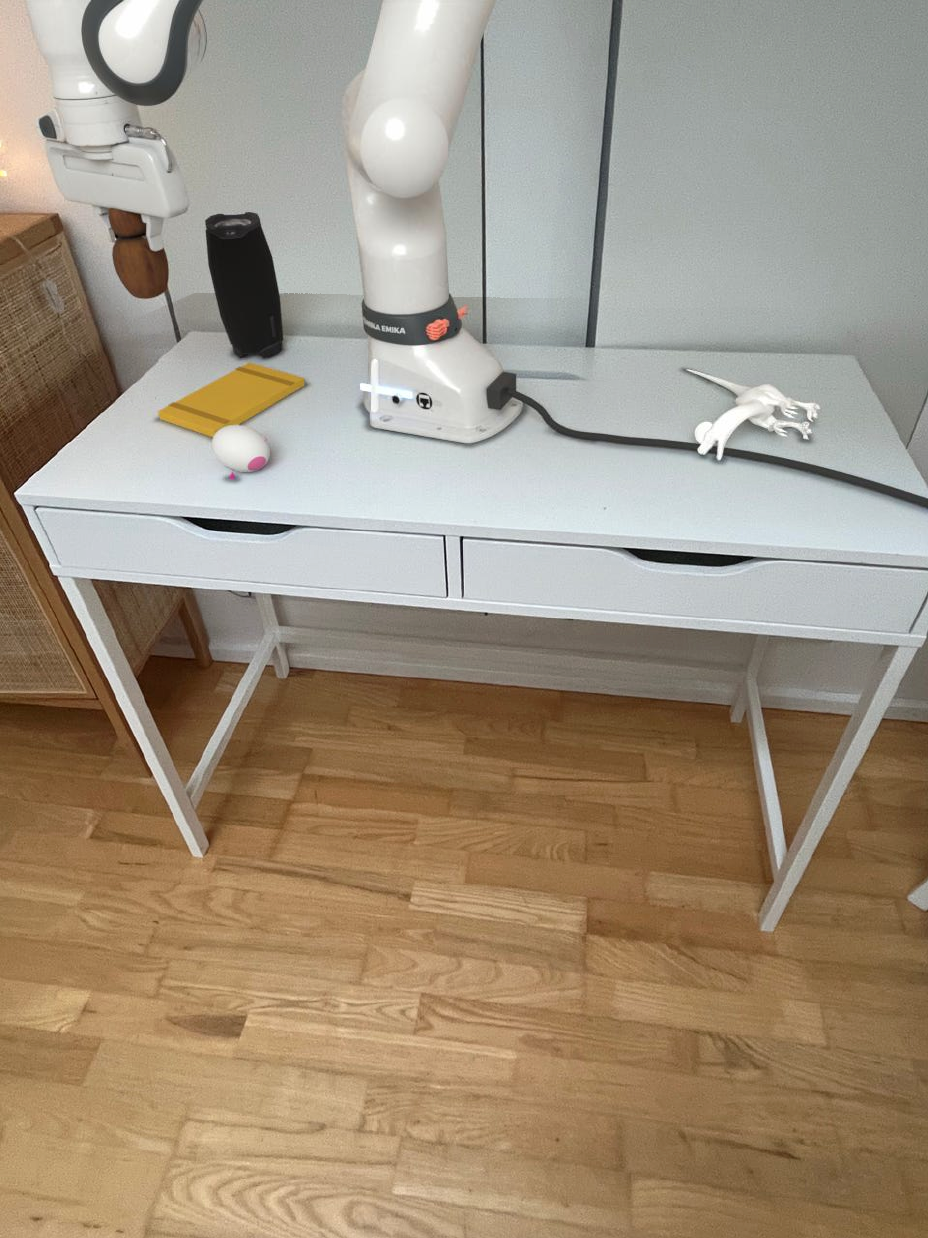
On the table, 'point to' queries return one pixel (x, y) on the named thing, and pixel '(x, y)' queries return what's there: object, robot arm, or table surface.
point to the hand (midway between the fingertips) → (136, 245)
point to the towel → (231, 399)
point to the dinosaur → (750, 414)
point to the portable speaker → (245, 283)
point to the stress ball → (240, 448)
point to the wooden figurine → (137, 257)
